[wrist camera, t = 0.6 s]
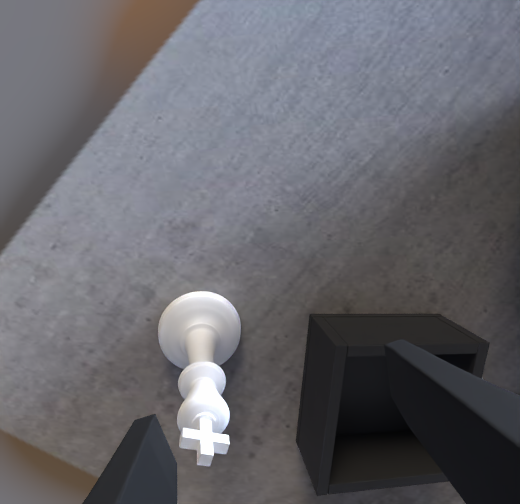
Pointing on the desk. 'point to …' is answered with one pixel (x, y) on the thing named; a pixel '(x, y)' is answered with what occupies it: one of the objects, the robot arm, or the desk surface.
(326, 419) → the black bin
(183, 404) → the chess piece
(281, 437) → the desk surface
